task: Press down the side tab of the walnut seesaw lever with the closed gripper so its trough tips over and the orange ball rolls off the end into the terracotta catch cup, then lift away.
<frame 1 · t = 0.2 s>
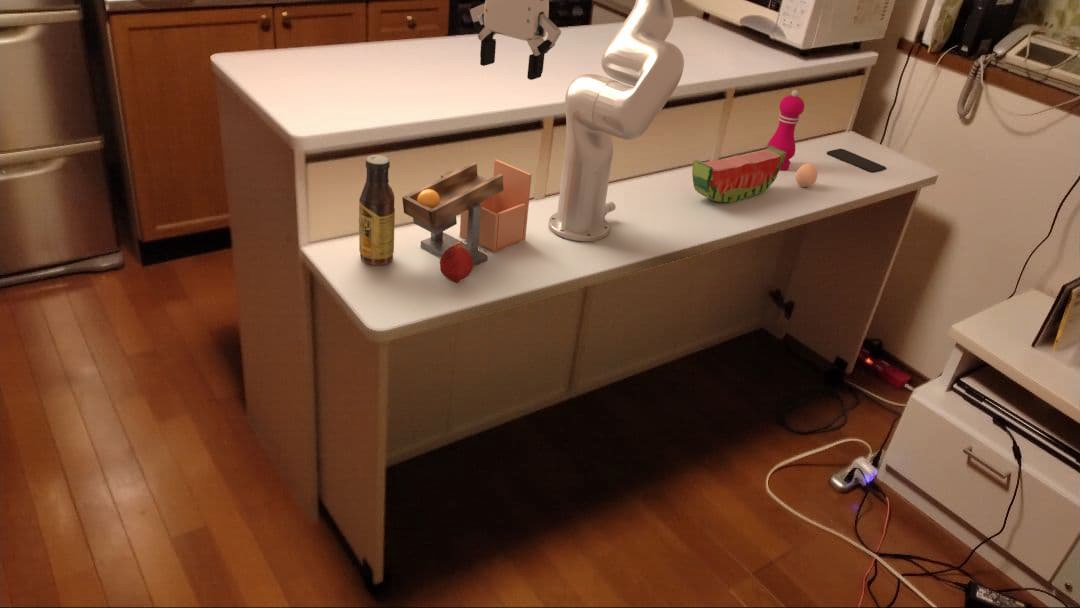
hand: (510, 71, 139), 36 cm above the countertop, tool pointing down, fingers open, 9 cm apart
sauce bottle: (377, 260, 154), on the countertop
ball: (428, 200, 147), point 13 cm above the countertop, touching lever
lever: (447, 195, 153), point 11 cm above the countertop, hinge at 8.0°, touching ball
egg: (803, 187, 206), on the countertop
pepper mill: (776, 166, 216), on the countertop
lever stand: (453, 253, 158), on the countertop
fruit slice: (732, 197, 196), on the countertop
catch cup: (492, 238, 165), on the countertop
onion: (455, 283, 149), on the countertop
phone: (855, 163, 226), on the countertop
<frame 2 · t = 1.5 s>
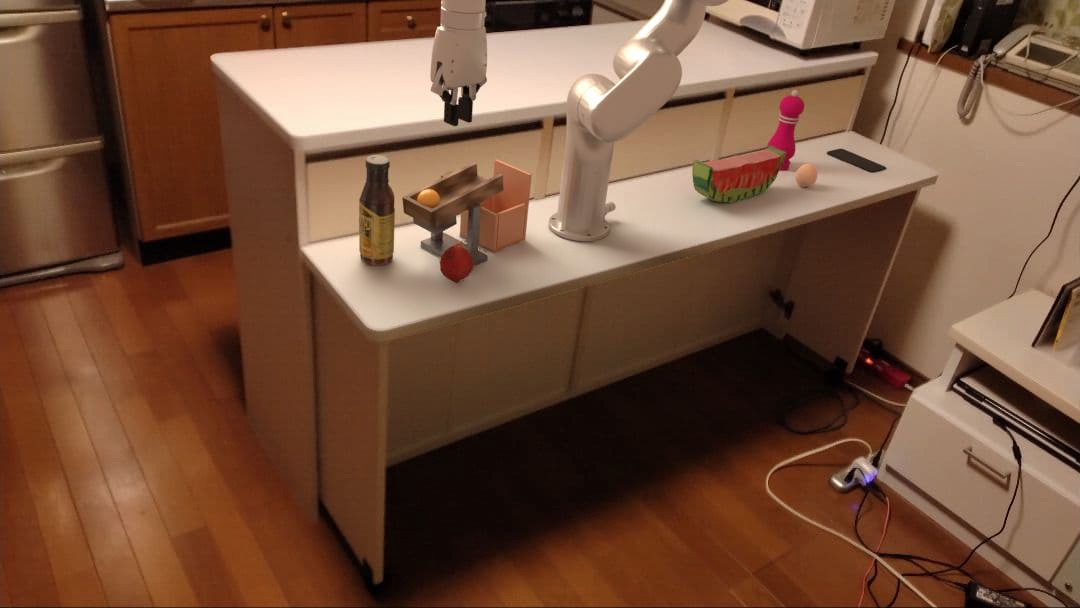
hand: (457, 121, 153), 23 cm above the countertop, tool pointing down, fingers closed
nothing on the countertop moved.
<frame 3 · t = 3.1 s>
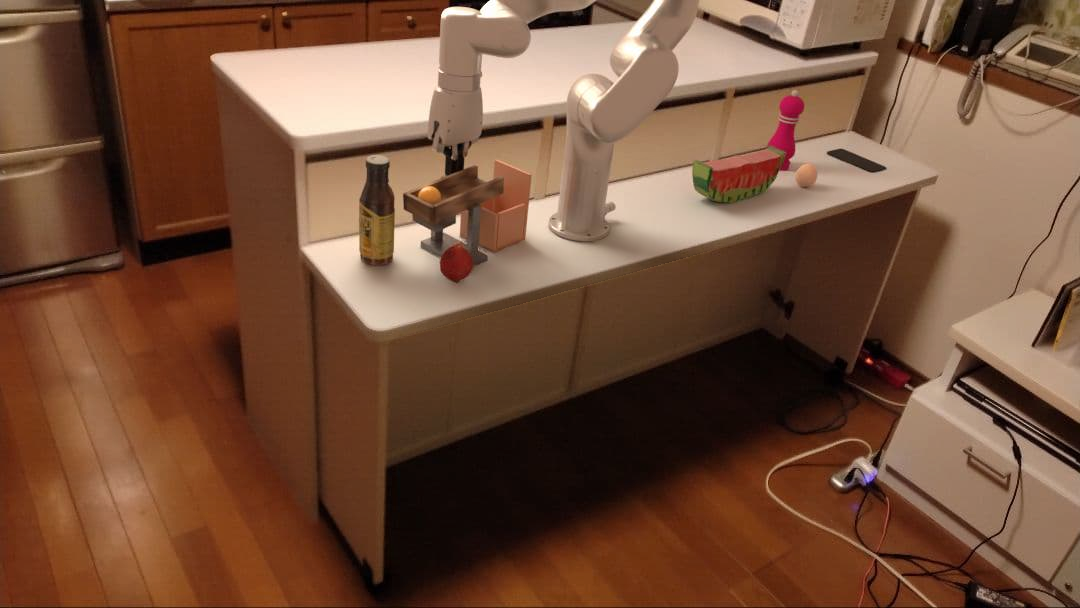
hand: (453, 176, 159), 12 cm above the countertop, tool pointing down, fingers closed
lever: (447, 195, 153), point 11 cm above the countertop, hinge at 3.6°, touching ball, gripper
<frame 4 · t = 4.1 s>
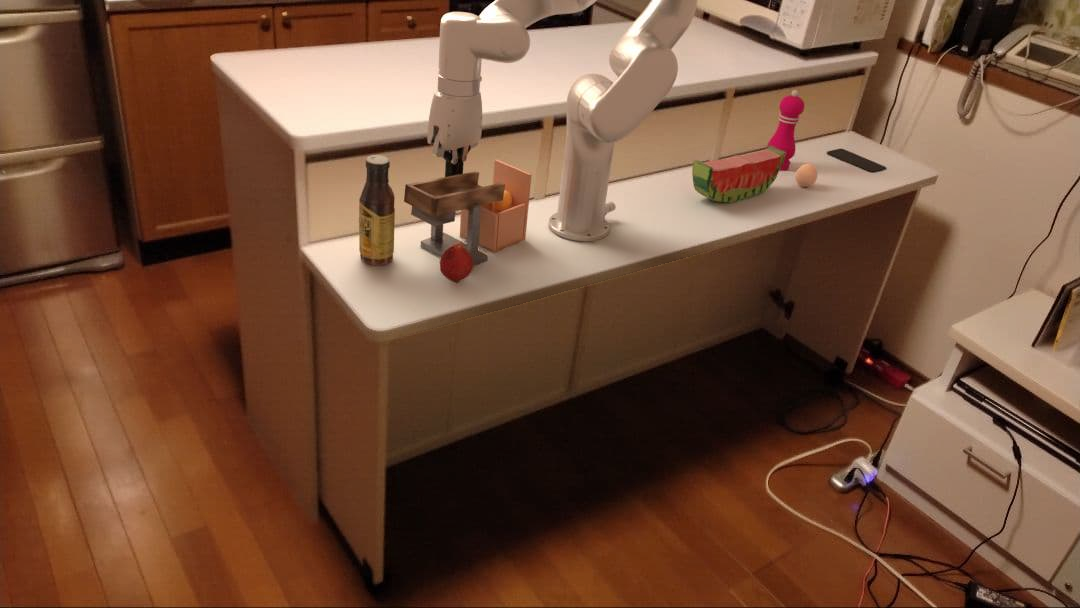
hand: (453, 180, 159), 12 cm above the countertop, tool pointing down, fingers closed
ball: (502, 200, 163), point 8 cm above the countertop, tilted 171°
lever: (447, 195, 153), point 11 cm above the countertop, hinge at -5.8°, touching gripper
everything else where it was.
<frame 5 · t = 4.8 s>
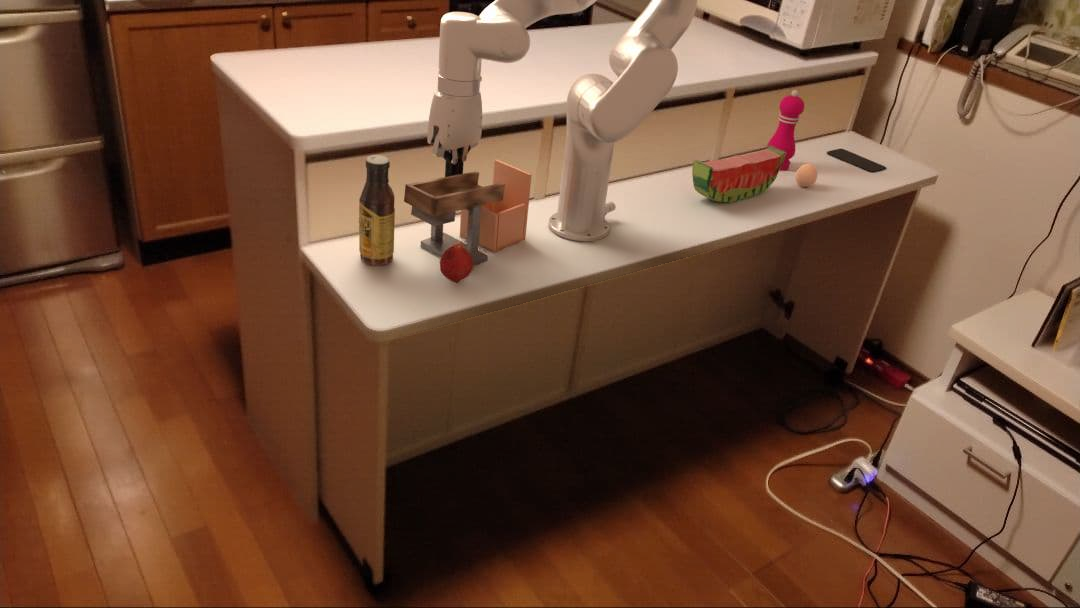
hand: (453, 180, 159), 12 cm above the countertop, tool pointing down, fingers closed
ball: (489, 227, 163), point 3 cm above the countertop, tilted 6°, touching catch cup
everything else where it was.
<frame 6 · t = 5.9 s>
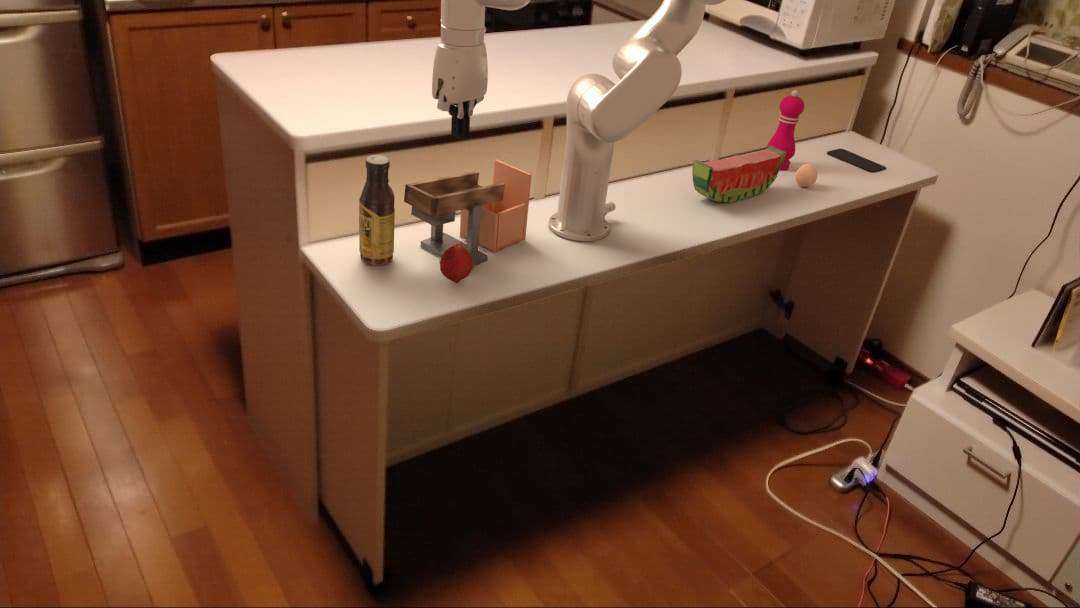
hand: (460, 136, 155), 20 cm above the countertop, tool pointing down, fingers closed
ball: (496, 225, 165), point 3 cm above the countertop, tilted 61°, touching catch cup
lever: (447, 195, 153), point 11 cm above the countertop, hinge at -5.8°
everything else where it was.
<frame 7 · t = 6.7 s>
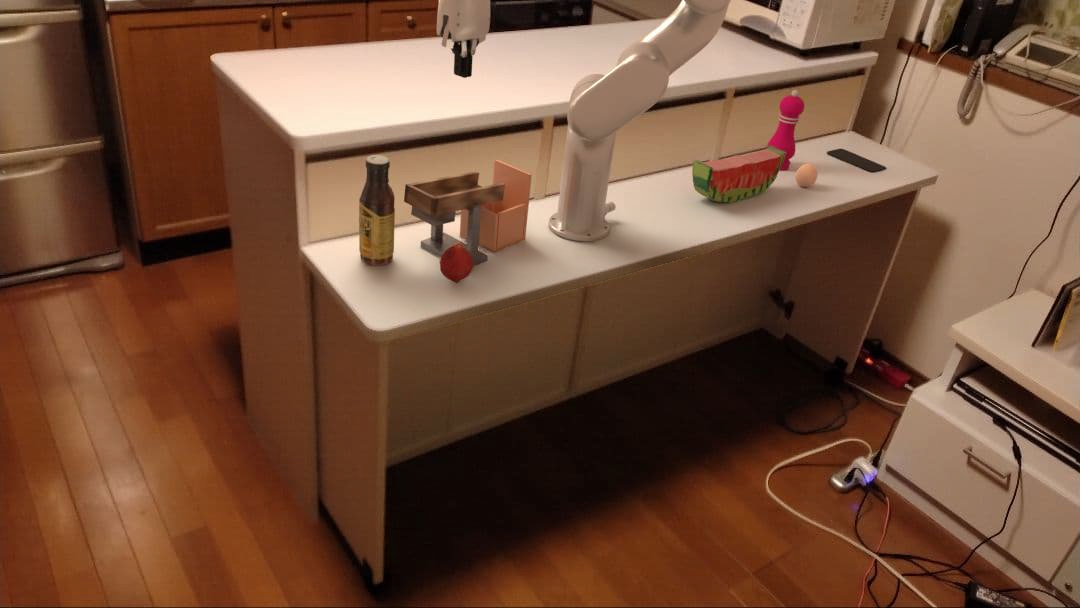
hand: (462, 75, 159), 29 cm above the countertop, tool pointing down, fingers closed
ball: (500, 223, 165), point 3 cm above the countertop, tilted 96°, touching catch cup
everything else where it was.
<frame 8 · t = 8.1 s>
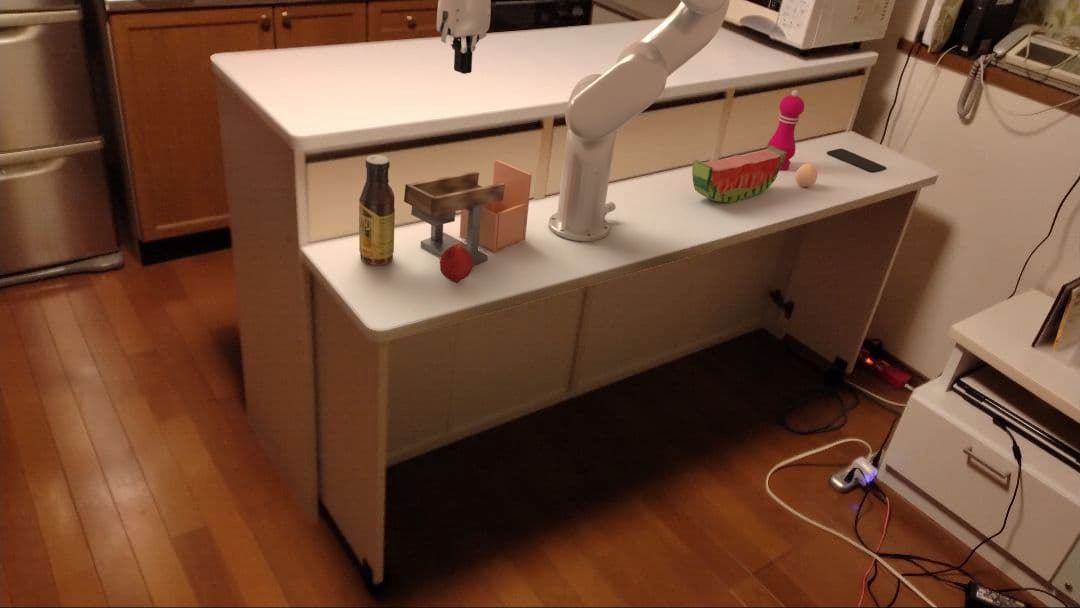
hand: (462, 71, 160), 29 cm above the countertop, tool pointing down, fingers closed
nothing on the countertop moved.
at the end: ball inside the target area on the catch cup (1.9 cm from its centre), point 2.6 cm above the catch cup's base; ball moved 22.0 cm from its start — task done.
